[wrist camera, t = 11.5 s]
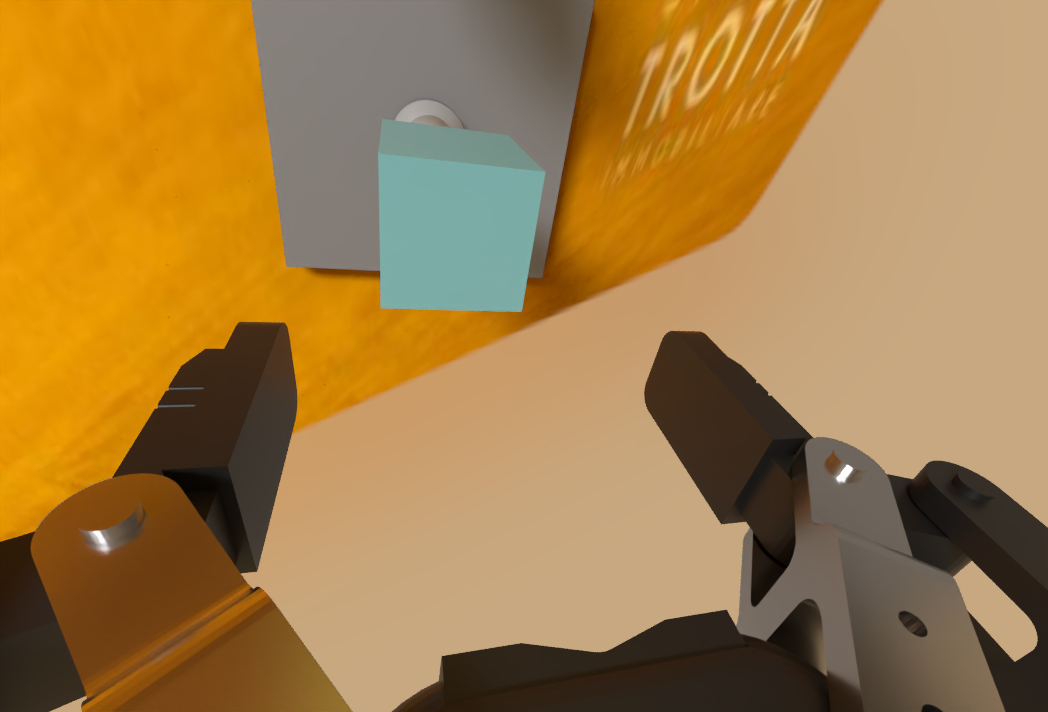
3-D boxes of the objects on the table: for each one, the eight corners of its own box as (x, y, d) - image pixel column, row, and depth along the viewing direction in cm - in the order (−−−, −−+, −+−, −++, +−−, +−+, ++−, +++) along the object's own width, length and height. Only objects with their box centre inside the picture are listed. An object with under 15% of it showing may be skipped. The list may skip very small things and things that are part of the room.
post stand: (249, -87, 23) (21, -257, 9) (585, -11, 28) (783, -45, 14) (291, 254, 33) (214, 431, 19) (536, 267, 38) (622, 416, 24)
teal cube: (382, 118, 18) (378, 153, 13) (508, 135, 20) (545, 171, 15) (383, 242, 21) (380, 308, 16) (494, 249, 22) (521, 311, 17)
